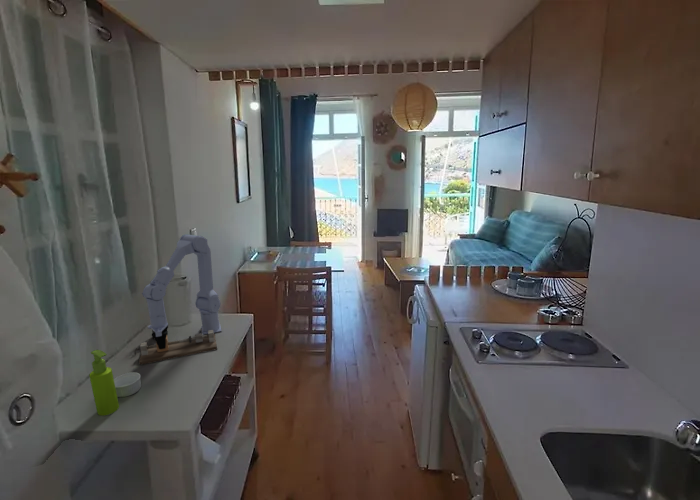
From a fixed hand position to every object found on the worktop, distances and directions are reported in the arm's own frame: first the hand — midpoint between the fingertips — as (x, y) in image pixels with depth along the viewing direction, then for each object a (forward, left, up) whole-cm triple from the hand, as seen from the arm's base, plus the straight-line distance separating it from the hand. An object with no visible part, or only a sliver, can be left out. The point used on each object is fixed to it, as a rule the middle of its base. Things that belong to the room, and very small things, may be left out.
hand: (162, 346), depth 161 cm
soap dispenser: (+34, -14, -3) cm, 37 cm away
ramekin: (+24, -10, -3) cm, 26 cm away
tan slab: (0, +6, -3) cm, 7 cm away
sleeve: (0, 0, -1) cm, 1 cm away
